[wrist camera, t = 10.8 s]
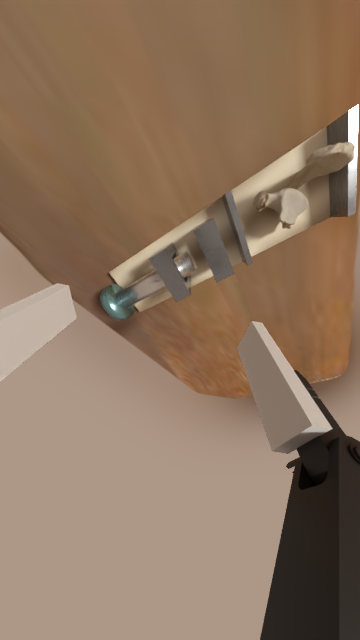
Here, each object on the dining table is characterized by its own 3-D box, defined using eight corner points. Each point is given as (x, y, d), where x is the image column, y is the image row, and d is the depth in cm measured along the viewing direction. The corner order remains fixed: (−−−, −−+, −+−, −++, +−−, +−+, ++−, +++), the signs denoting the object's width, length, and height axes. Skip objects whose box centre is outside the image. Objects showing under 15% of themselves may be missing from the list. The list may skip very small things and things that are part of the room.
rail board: (112, 270, 30) (108, 272, 29) (325, 127, 18) (334, 121, 17) (142, 309, 35) (140, 312, 34) (329, 214, 23) (337, 213, 22)
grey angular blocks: (157, 240, 27) (142, 248, 19) (325, 127, 18) (420, 60, 11) (184, 287, 31) (180, 309, 23) (329, 214, 23) (398, 210, 15)
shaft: (132, 309, 32) (119, 326, 26) (111, 283, 29) (92, 297, 24) (199, 274, 27) (200, 287, 21) (182, 238, 24) (178, 243, 18)
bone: (253, 248, 24) (282, 203, 14) (239, 211, 24) (259, 139, 14) (314, 224, 22) (397, 150, 12) (298, 183, 22) (368, 78, 12)
